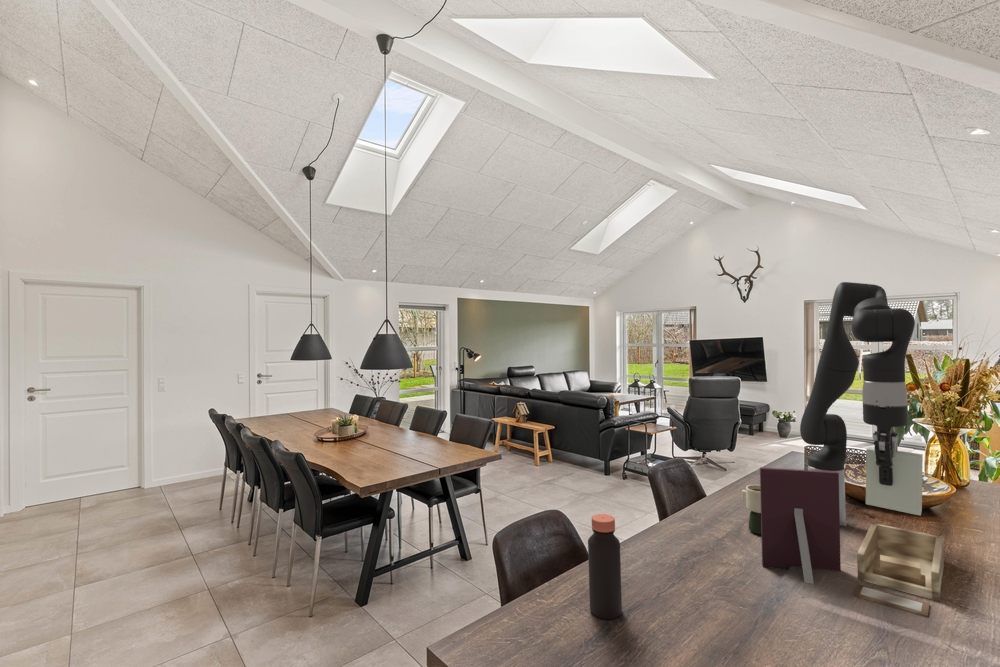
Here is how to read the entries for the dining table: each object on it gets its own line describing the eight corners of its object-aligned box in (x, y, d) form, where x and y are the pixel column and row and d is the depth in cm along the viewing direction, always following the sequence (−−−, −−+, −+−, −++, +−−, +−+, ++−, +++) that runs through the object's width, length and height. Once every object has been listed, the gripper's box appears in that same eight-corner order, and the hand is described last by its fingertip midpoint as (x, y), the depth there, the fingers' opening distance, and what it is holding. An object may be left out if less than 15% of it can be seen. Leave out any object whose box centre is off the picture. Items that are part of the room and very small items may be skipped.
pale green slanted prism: (865, 504, 104) (866, 449, 104) (867, 500, 106) (868, 446, 106) (920, 515, 97) (921, 457, 97) (921, 511, 100) (922, 454, 99)
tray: (857, 584, 111) (857, 553, 111) (872, 549, 128) (871, 522, 128) (939, 607, 101) (938, 573, 101) (944, 566, 118) (943, 537, 118)
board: (854, 601, 104) (853, 593, 104) (858, 590, 108) (858, 583, 108) (927, 623, 96) (927, 615, 96) (929, 610, 100) (929, 602, 100)
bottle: (621, 622, 99) (618, 525, 99) (588, 617, 101) (585, 522, 101) (622, 604, 105) (619, 513, 105) (591, 600, 107) (588, 511, 107)
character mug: (786, 535, 138) (784, 490, 138) (771, 541, 134) (770, 495, 134) (750, 523, 147) (749, 481, 147) (735, 528, 144) (734, 485, 144)
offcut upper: (880, 570, 109) (880, 559, 109) (880, 565, 112) (880, 554, 112) (921, 579, 105) (920, 568, 105) (920, 574, 108) (919, 562, 108)
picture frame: (839, 573, 116) (835, 470, 116) (854, 594, 107) (850, 482, 107) (762, 564, 121) (759, 466, 122) (770, 584, 112) (766, 477, 112)
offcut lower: (872, 579, 111) (872, 568, 111) (874, 573, 113) (874, 562, 113) (924, 593, 104) (924, 581, 104) (925, 586, 107) (925, 575, 107)
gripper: (867, 397, 110) (869, 472, 110) (857, 404, 100) (860, 487, 100) (910, 399, 105) (913, 478, 105) (904, 407, 95) (907, 494, 95)
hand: (887, 482), depth 102 cm, fingers closed on pale green slanted prism, 3 cm apart
